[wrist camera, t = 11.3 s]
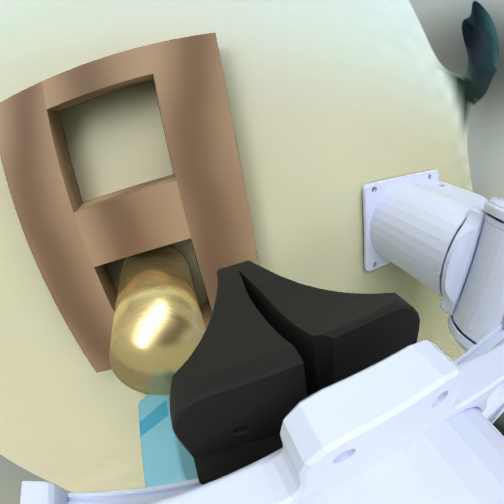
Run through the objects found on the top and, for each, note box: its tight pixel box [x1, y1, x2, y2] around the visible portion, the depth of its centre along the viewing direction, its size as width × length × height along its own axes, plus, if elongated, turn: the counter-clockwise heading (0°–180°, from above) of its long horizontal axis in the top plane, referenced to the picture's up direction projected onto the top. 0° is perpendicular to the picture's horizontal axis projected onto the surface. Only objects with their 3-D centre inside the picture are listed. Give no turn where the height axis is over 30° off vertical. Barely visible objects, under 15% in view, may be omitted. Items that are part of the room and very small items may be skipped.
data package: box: [139, 394, 198, 487], centre depth 23 cm, size 12×4×12 cm, turn 43°
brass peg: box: [109, 245, 206, 396], centre depth 17 cm, size 5×5×9 cm
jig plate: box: [0, 33, 259, 373], centre depth 18 cm, size 14×20×2 cm
